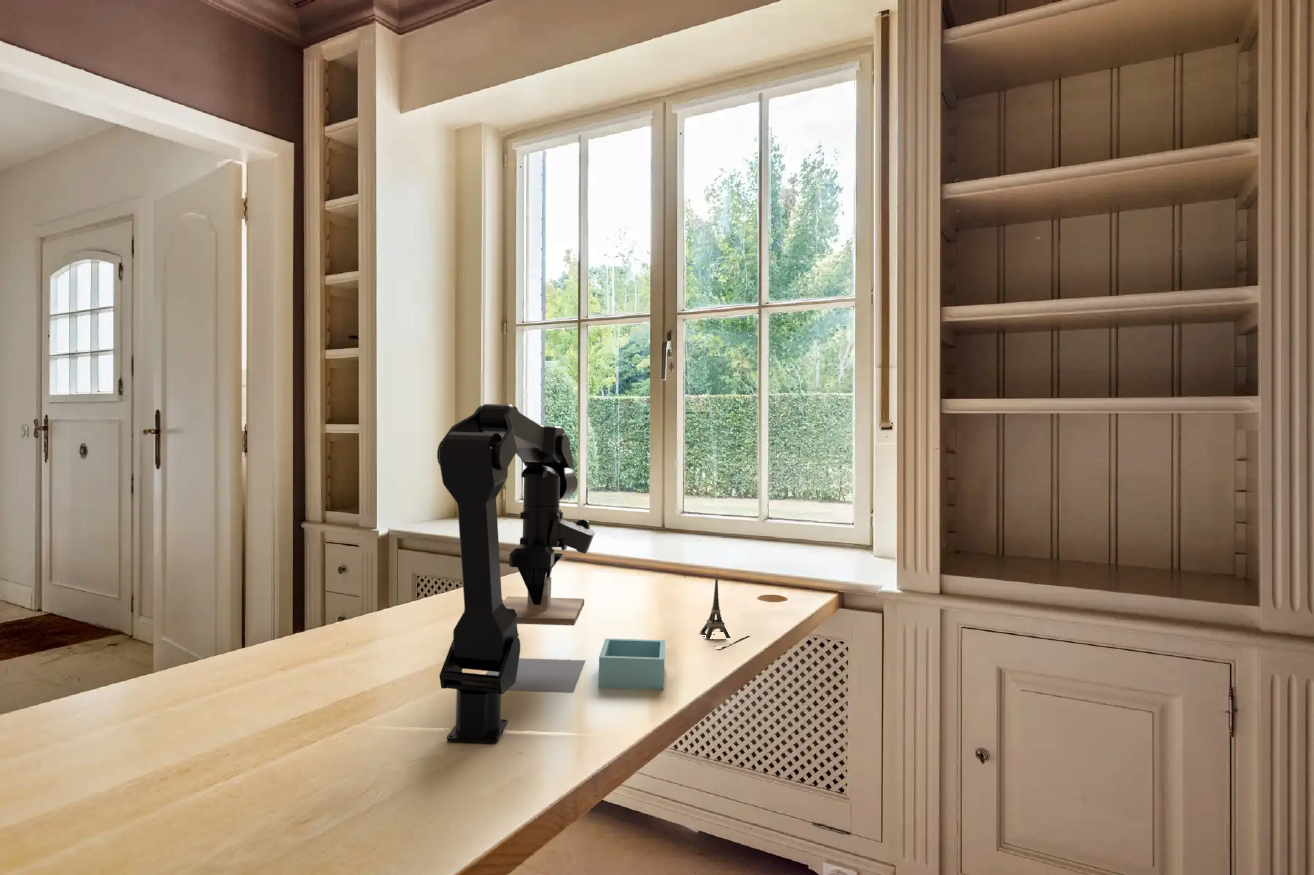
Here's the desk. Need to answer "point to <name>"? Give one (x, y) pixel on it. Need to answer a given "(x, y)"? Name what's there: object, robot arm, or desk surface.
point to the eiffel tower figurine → (713, 622)
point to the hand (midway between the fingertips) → (539, 602)
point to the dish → (632, 664)
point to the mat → (546, 675)
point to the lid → (545, 608)
